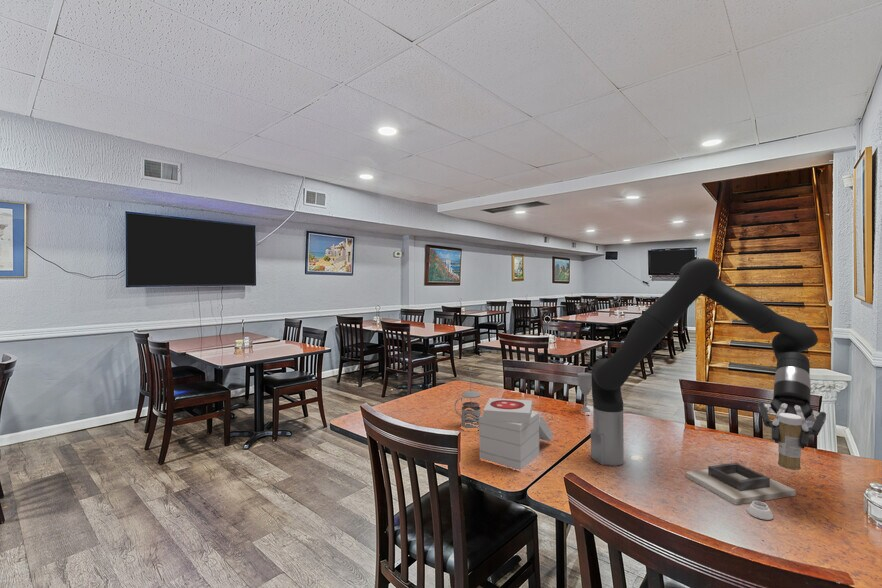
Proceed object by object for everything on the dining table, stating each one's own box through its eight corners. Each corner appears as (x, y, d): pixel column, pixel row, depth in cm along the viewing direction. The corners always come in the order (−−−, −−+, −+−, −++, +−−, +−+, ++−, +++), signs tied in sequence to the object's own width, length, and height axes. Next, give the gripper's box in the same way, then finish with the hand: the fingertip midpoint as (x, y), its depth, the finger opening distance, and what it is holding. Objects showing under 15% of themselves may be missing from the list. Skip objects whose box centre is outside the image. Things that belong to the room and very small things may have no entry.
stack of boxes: (558, 444, 146) (557, 395, 146) (523, 476, 122) (522, 417, 122) (510, 434, 157) (510, 388, 157) (470, 461, 133) (469, 407, 133)
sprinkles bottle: (776, 461, 106) (777, 411, 105) (799, 465, 103) (800, 414, 103) (779, 468, 102) (780, 416, 102) (803, 472, 99) (803, 419, 99)
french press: (484, 431, 160) (483, 369, 160) (455, 432, 160) (454, 369, 160) (482, 423, 170) (481, 364, 169) (454, 423, 170) (454, 365, 170)
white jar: (744, 508, 103) (751, 519, 99) (744, 497, 103) (751, 507, 99) (768, 512, 102) (776, 523, 97) (768, 500, 101) (776, 511, 97)
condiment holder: (735, 505, 105) (735, 489, 105) (685, 476, 120) (685, 463, 120) (795, 495, 109) (795, 480, 109) (740, 469, 125) (740, 456, 125)
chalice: (594, 416, 177) (594, 376, 176) (578, 416, 178) (578, 375, 178) (592, 411, 184) (591, 372, 184) (576, 411, 185) (576, 372, 185)
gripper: (758, 375, 112) (752, 429, 104) (828, 383, 103) (829, 444, 94) (759, 390, 116) (754, 443, 108) (827, 399, 107) (828, 459, 98)
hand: (789, 443), depth 101 cm, fingers closed on sprinkles bottle, 4 cm apart
